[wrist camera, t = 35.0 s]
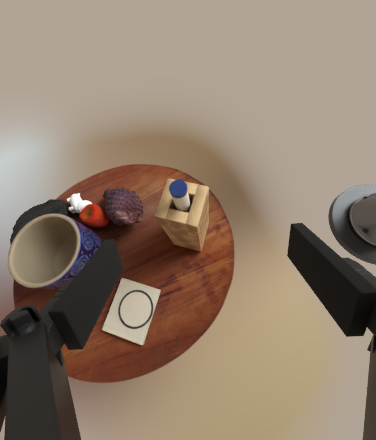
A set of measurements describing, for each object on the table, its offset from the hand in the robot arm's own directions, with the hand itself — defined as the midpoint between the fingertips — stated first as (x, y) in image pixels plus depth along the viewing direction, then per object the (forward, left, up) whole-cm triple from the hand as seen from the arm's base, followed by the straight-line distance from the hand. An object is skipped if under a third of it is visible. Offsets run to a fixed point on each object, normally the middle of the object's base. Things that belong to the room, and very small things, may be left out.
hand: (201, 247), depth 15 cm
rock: (+51, -3, -40) cm, 65 cm away
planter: (+35, +4, -40) cm, 53 cm away
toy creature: (+45, -9, -37) cm, 59 cm away
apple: (+33, -8, -39) cm, 52 cm away
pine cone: (+28, -13, -40) cm, 50 cm away
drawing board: (+16, +12, -40) cm, 45 cm away
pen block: (+7, -11, -40) cm, 42 cm away
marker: (+7, -11, -26) cm, 29 cm away
